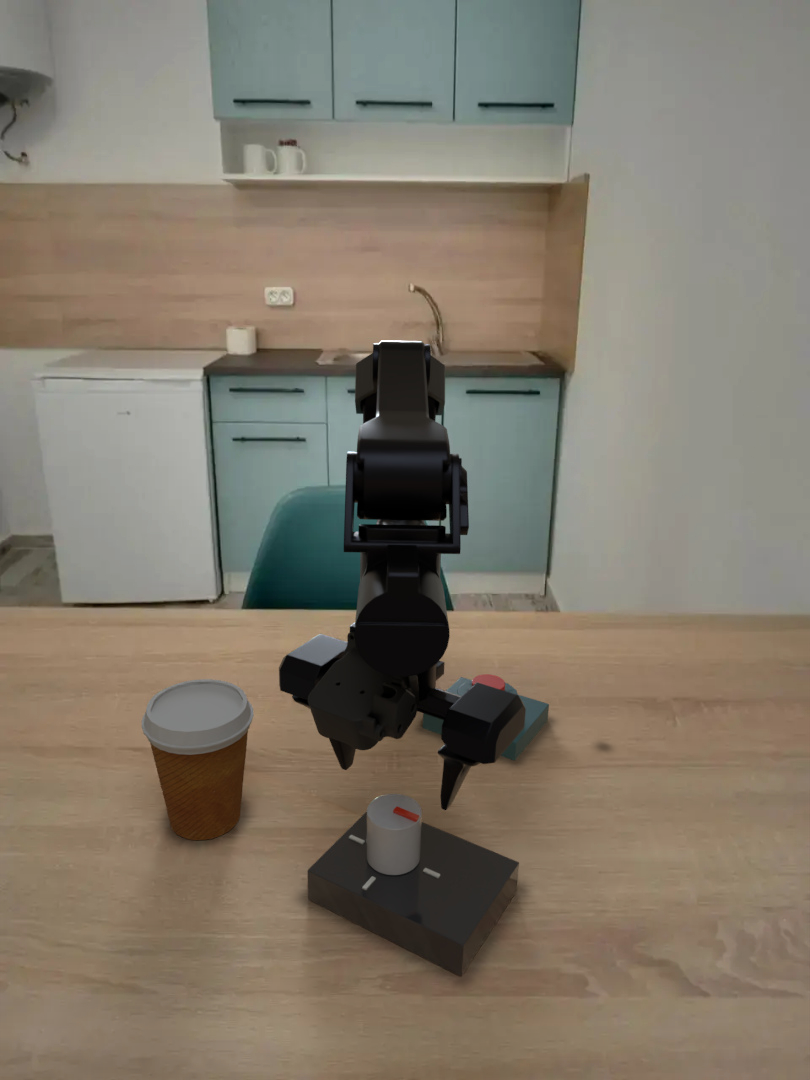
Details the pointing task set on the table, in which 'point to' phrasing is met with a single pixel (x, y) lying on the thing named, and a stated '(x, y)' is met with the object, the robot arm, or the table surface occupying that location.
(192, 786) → the disposable coffee cup
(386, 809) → the hob knob
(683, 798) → the table surface
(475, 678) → the button
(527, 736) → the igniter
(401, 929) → the hob panel
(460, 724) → the robot arm
